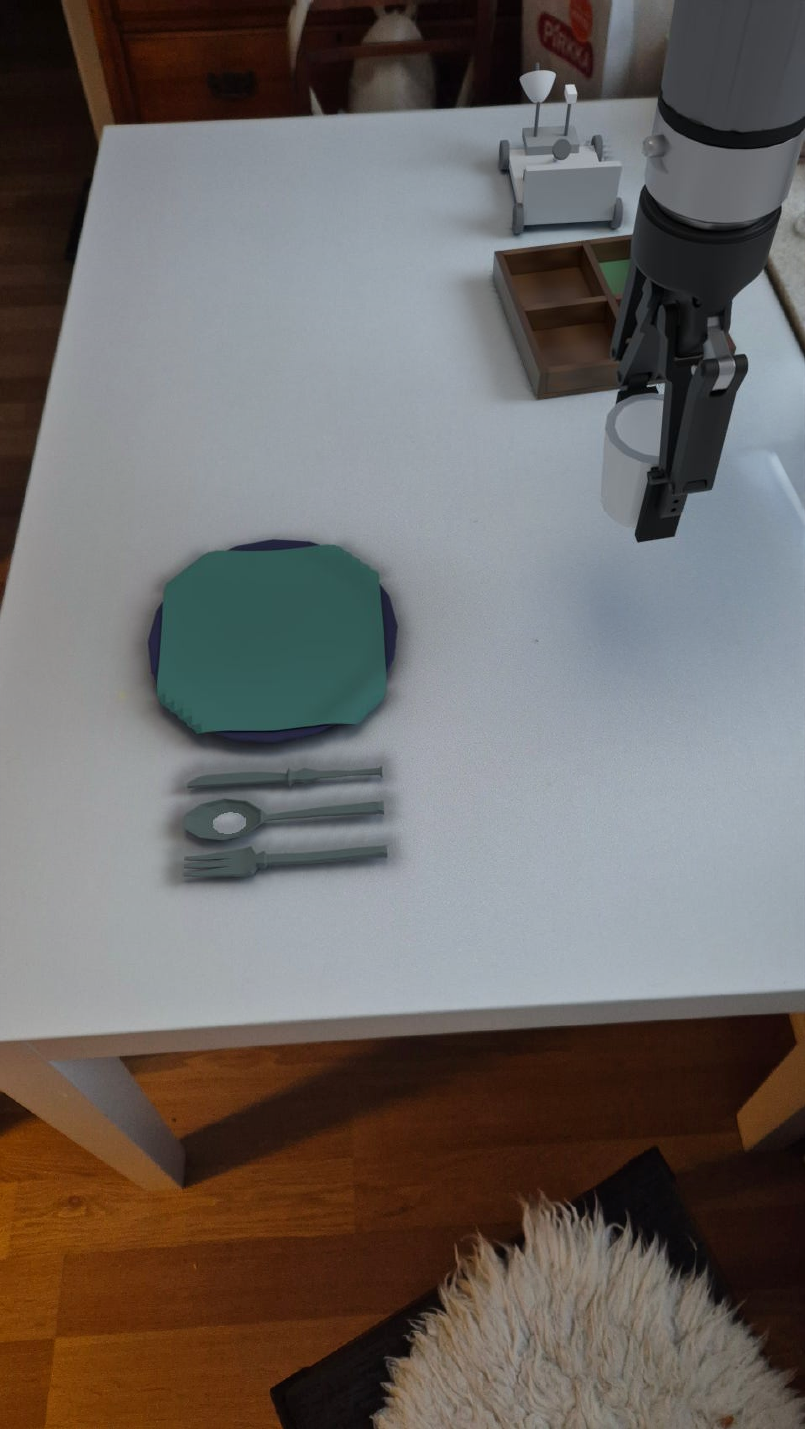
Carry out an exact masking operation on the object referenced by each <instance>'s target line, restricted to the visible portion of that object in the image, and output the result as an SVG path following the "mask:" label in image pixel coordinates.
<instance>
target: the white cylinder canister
mask: <svg viewBox="0 0 805 1429" xmlns="http://www.w3.org/2000/svg"><path fill="white" fill-rule="evenodd" d="M663 401H664V393H659V394H656V393H647V394H640V395H633V396H631V397H629V398H627V399H625V400H623V401H621V402H618V403H617V404H616V403H615V404H616V405H613V407H612V408H611V410H610V411H609V412H608V413H607V414H606V421H605V426H604V437H603V438H604V440H603V453H602V454H603V455H602V469H601V470H602V471H601V482H600V483H601V485H600V486H601V487H600V499H599V500H600V503H601V505H602V508H603V511H604V512H605V513H606V514H607V516H608V517H609V518H610V519H612V520H613V521H614V522H616V523H618V524H620V525H621V526H624V527H626V528H630V529H631V528H632V529H636V526H637V522H638V518H639V514H640V510H641V506H642V502H643V498H644V494H645V490H646V486H647V482H648V479H647V472H648V471H650V470H651V467H658V466H659V453H660V440H661V427H662V414H663Z"/></svg>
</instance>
